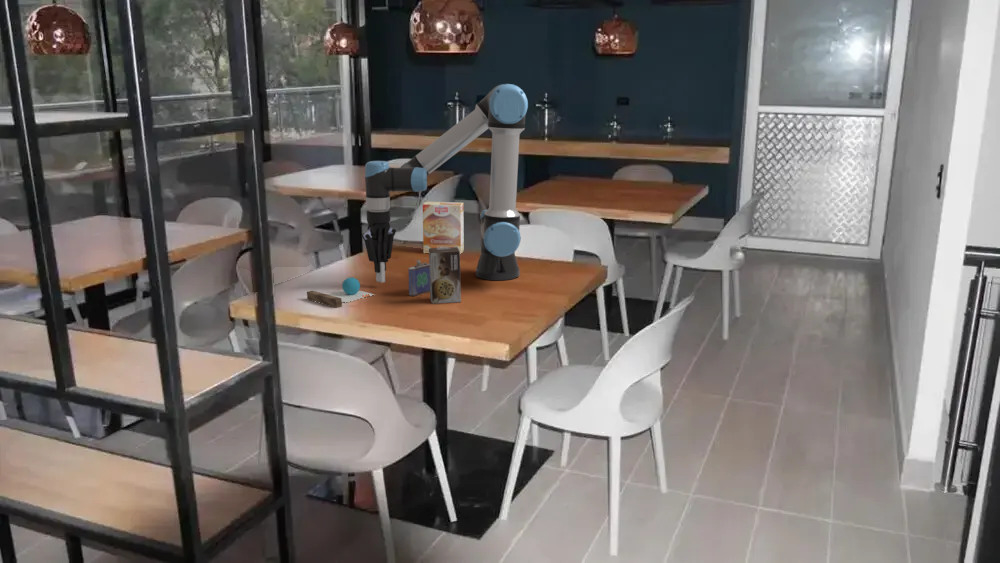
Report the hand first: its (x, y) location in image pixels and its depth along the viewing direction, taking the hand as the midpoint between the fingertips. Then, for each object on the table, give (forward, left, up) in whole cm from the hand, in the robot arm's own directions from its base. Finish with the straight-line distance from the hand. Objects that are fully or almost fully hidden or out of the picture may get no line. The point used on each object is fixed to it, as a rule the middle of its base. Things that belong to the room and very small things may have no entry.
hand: (380, 281), depth 266 cm
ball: (0, +12, +1) cm, 12 cm away
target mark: (0, +14, -2) cm, 14 cm away
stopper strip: (-1, +24, -2) cm, 24 cm away
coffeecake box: (+21, -52, -2) cm, 56 cm away
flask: (-15, -3, -2) cm, 15 cm away
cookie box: (-27, -2, -2) cm, 27 cm away
